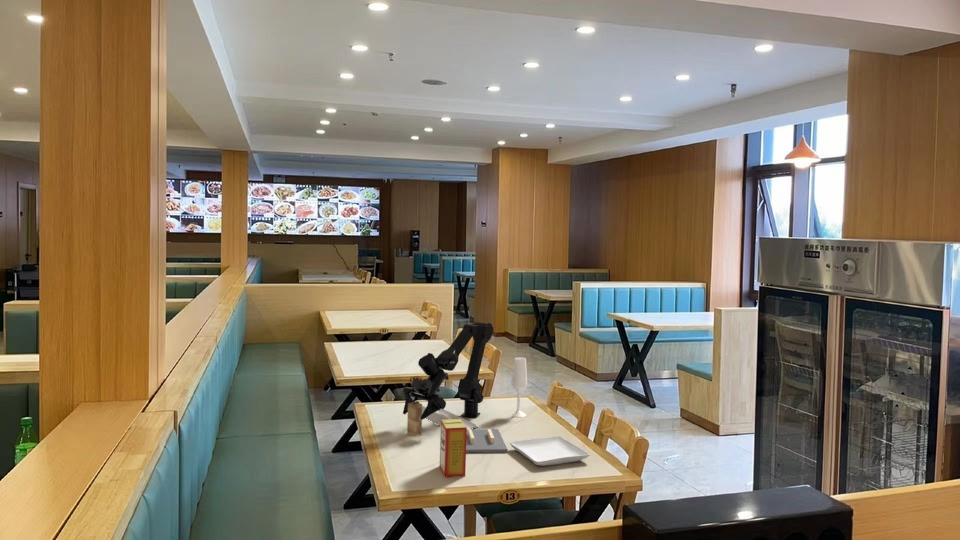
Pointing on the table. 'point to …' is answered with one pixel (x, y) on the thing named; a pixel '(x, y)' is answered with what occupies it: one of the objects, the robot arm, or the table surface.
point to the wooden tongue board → (414, 418)
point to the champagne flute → (519, 382)
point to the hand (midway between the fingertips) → (412, 416)
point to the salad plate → (549, 450)
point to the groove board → (485, 441)
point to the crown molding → (446, 417)
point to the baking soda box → (453, 447)
